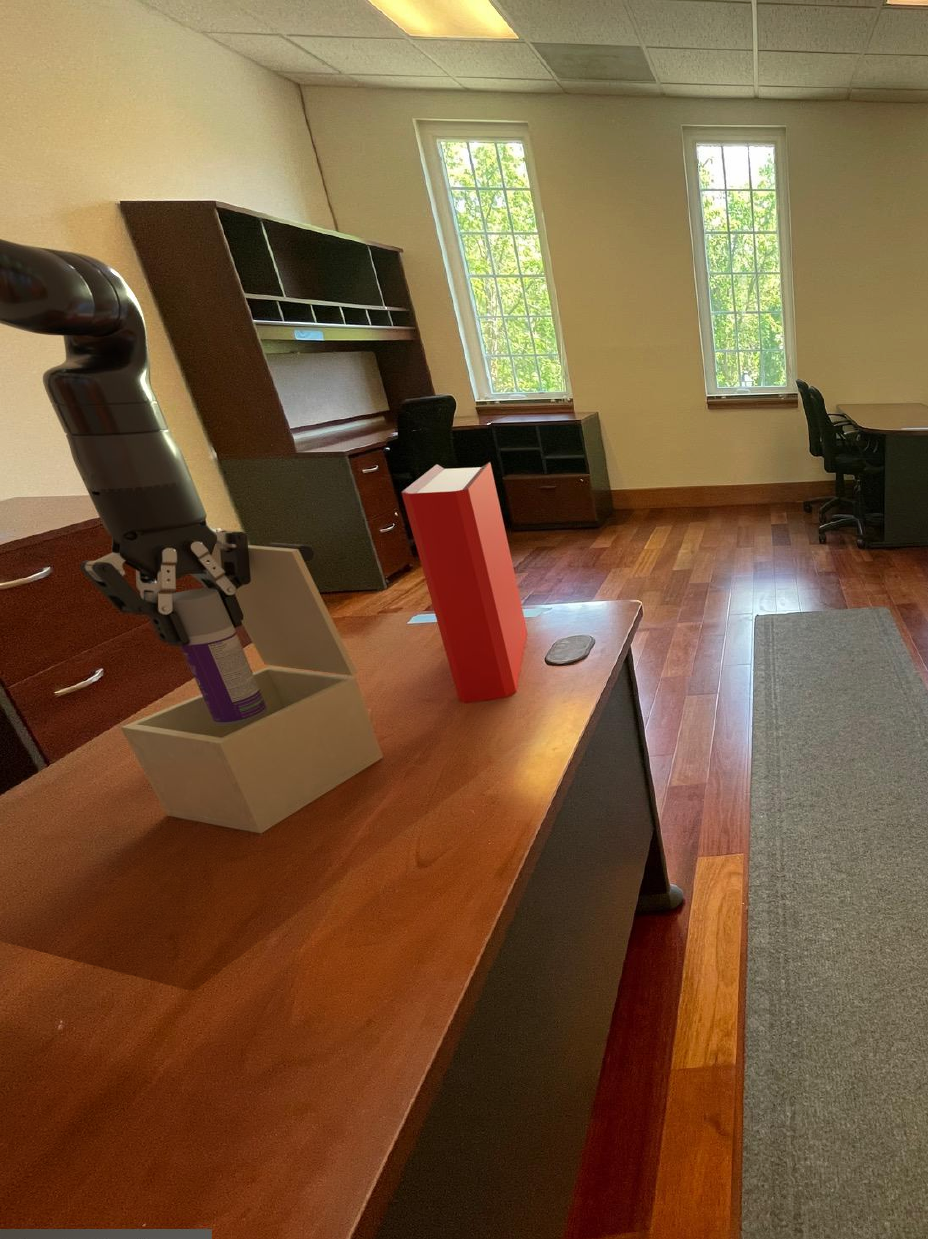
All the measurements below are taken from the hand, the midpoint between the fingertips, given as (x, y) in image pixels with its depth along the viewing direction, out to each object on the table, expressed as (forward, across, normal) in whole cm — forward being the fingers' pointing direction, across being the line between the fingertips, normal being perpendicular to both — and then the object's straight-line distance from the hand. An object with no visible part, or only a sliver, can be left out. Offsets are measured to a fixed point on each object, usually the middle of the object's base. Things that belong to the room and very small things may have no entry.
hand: (206, 634), depth 73 cm
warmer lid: (0, -8, 0) cm, 8 cm away
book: (+21, -37, +1) cm, 43 cm away
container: (+11, 0, 0) cm, 11 cm away
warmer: (+21, -1, 0) cm, 21 cm away
